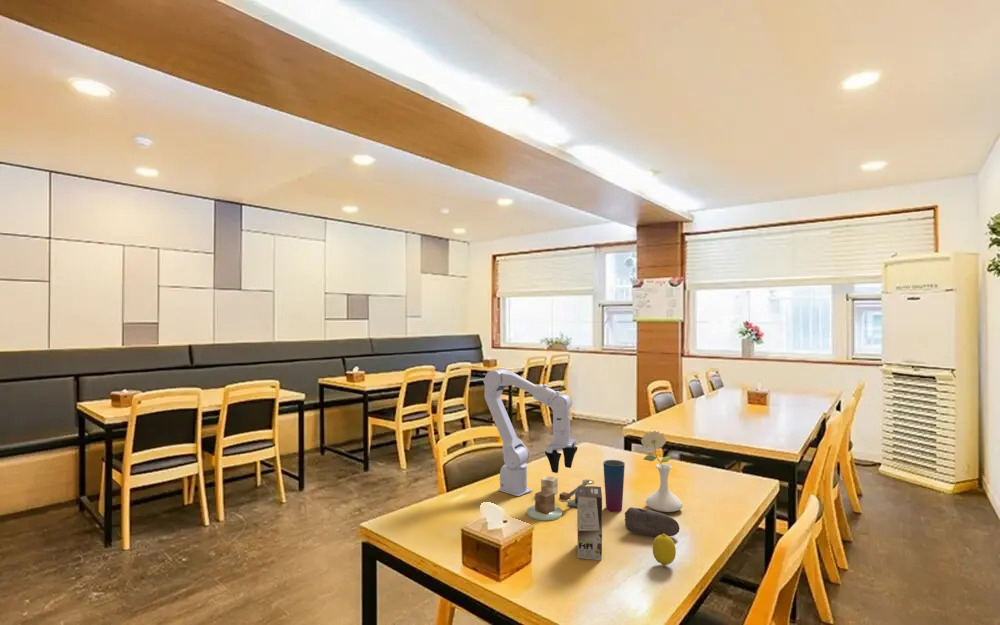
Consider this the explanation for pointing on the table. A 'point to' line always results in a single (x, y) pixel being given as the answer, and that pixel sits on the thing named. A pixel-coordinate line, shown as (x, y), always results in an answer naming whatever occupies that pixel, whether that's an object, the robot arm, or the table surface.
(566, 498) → the balance
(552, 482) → the maple block
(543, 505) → the walnut block
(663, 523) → the perforated stone tool
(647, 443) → the flower in vase
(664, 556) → the lemon
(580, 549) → the coffee box
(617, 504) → the cup
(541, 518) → the dish
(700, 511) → the table surface
